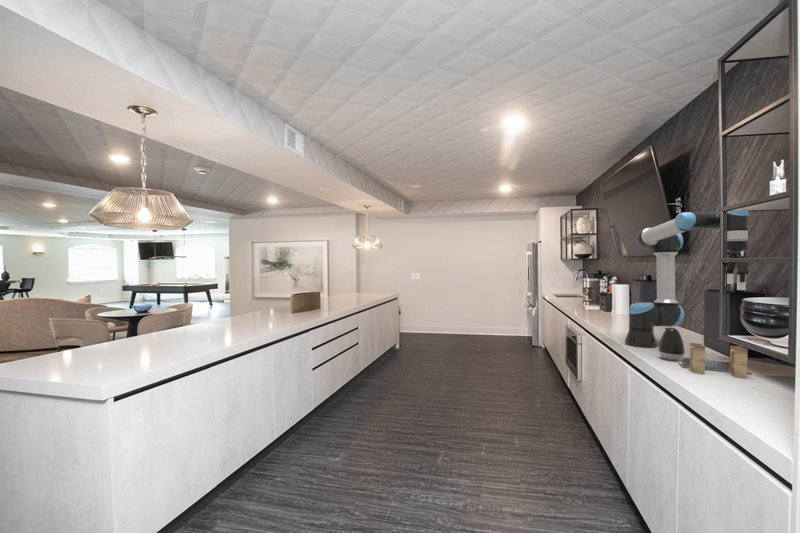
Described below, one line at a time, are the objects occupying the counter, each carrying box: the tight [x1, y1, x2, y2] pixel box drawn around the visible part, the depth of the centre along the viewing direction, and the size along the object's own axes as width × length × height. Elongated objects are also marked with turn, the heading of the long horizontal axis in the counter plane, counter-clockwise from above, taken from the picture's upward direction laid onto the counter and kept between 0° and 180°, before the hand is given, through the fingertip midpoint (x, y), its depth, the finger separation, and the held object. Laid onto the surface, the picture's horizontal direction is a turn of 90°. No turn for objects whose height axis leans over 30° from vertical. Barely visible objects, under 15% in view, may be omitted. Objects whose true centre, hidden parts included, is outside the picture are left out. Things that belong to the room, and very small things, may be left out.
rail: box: [682, 356, 730, 370], centre depth 175 cm, size 3×22×4 cm, turn 67°
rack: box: [689, 342, 749, 379], centre depth 168 cm, size 6×18×12 cm, turn 67°
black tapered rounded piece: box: [658, 327, 686, 362], centre depth 192 cm, size 10×10×15 cm
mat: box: [678, 362, 753, 375], centre depth 175 cm, size 7×24×1 cm, turn 67°
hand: (735, 289), depth 178 cm, fingers open, 13 cm apart
